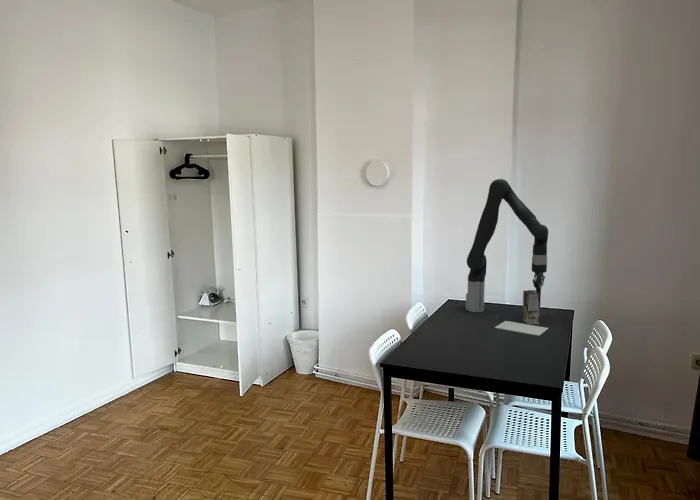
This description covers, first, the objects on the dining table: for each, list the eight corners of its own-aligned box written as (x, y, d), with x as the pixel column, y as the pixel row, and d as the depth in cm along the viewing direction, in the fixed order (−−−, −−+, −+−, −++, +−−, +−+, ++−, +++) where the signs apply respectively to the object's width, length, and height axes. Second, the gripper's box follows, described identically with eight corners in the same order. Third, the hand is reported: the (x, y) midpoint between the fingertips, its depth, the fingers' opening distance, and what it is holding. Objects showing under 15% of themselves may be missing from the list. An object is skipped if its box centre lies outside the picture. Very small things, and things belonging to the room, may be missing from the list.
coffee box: (539, 324, 268) (541, 293, 266) (527, 324, 269) (528, 294, 266) (534, 319, 277) (535, 289, 275) (521, 319, 278) (522, 289, 275)
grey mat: (494, 328, 264) (494, 327, 264) (505, 321, 275) (505, 320, 274) (539, 335, 250) (539, 335, 250) (548, 328, 261) (548, 328, 261)
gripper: (536, 260, 284) (535, 291, 286) (527, 264, 273) (526, 296, 276) (550, 261, 279) (549, 293, 282) (542, 265, 269) (541, 298, 271)
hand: (538, 294), depth 279 cm, fingers closed
